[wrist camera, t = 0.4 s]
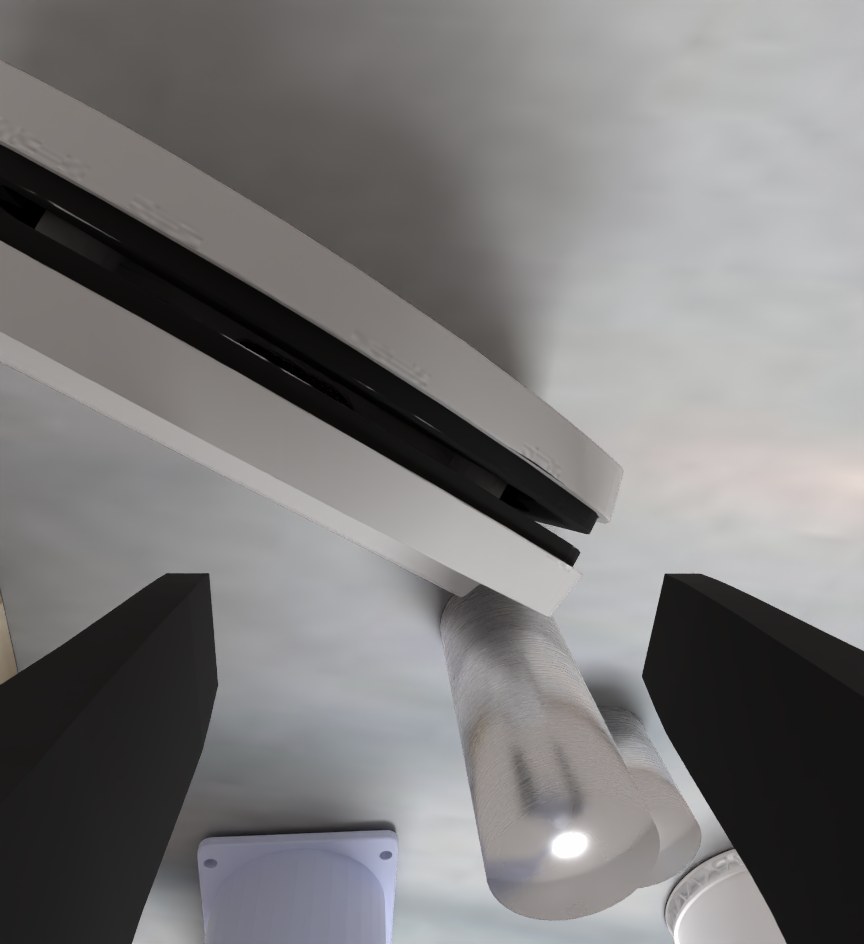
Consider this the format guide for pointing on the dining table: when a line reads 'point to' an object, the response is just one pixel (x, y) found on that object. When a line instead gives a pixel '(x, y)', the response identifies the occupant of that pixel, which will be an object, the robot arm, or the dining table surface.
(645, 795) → the short pin
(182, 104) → the dining table surface
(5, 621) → the hole plate
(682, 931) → the vase
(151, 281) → the white slotted housing
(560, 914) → the tall pin
